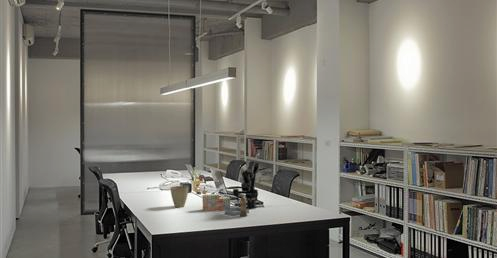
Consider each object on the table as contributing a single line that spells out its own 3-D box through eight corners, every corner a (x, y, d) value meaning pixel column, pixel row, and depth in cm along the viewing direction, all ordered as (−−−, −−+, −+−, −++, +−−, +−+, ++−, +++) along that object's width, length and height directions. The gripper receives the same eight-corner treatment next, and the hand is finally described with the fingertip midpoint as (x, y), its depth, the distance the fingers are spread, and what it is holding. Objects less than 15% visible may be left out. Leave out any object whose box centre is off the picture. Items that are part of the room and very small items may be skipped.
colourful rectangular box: (229, 208, 388) (229, 193, 387) (230, 209, 381) (230, 194, 381) (202, 209, 383) (202, 194, 383) (203, 211, 377) (203, 195, 377)
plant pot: (172, 209, 385) (172, 189, 385) (168, 205, 399) (168, 186, 399) (190, 207, 391) (190, 188, 391) (186, 204, 405) (186, 185, 404)
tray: (237, 210, 377) (237, 207, 376) (248, 212, 368) (248, 209, 368) (224, 213, 366) (224, 210, 366) (235, 215, 358) (235, 212, 358)
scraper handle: (243, 214, 361) (243, 196, 361) (248, 215, 357) (248, 197, 357) (238, 215, 357) (237, 197, 357) (243, 217, 353) (243, 198, 353)
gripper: (233, 178, 366) (230, 195, 356) (257, 178, 363) (254, 195, 352) (235, 187, 374) (232, 203, 363) (259, 187, 371) (256, 204, 360)
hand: (244, 201), depth 360 cm, fingers open, 9 cm apart
